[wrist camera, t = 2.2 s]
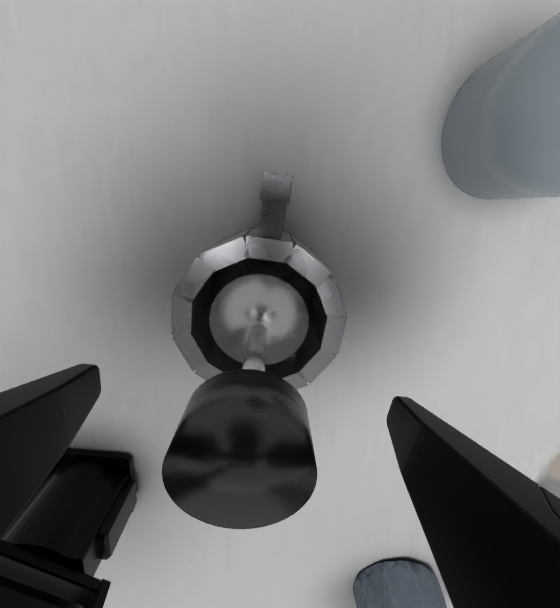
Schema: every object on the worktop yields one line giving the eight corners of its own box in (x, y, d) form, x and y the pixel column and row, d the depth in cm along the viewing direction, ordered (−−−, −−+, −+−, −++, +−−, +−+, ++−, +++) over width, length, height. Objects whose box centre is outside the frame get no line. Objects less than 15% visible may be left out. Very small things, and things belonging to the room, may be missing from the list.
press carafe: (197, 341, 19) (171, 388, 14) (204, 172, 15) (172, 156, 10) (312, 354, 19) (325, 403, 14) (346, 194, 16) (377, 189, 11)
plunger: (209, 355, 14) (127, 544, 6) (214, 265, 13) (113, 368, 5) (298, 365, 15) (329, 557, 7) (315, 279, 13) (382, 395, 5)
